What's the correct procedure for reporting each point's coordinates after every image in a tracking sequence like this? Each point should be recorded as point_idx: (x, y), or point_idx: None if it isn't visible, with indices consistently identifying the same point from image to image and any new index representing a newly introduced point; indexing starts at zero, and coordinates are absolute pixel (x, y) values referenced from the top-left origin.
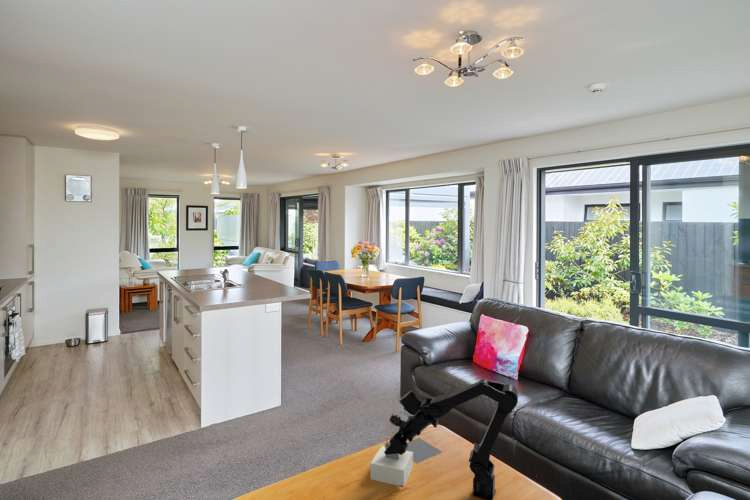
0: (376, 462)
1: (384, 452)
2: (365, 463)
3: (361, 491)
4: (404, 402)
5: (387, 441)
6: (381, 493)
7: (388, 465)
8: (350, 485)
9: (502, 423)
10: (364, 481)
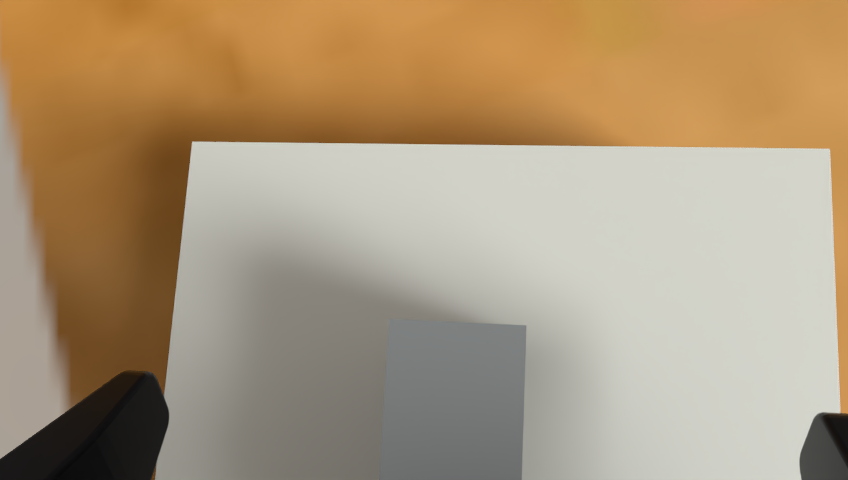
0: (235, 230)
1: (120, 381)
2: (590, 31)
3: (55, 182)
4: None
5: (500, 356)
6: (67, 410)
7: (196, 466)
8: (124, 35)
9: None
10: None
